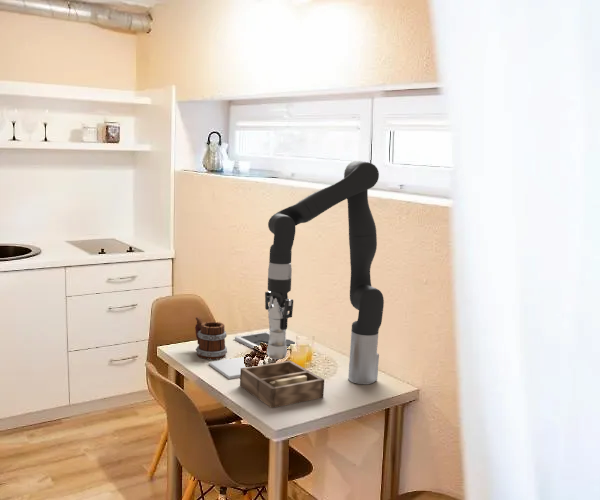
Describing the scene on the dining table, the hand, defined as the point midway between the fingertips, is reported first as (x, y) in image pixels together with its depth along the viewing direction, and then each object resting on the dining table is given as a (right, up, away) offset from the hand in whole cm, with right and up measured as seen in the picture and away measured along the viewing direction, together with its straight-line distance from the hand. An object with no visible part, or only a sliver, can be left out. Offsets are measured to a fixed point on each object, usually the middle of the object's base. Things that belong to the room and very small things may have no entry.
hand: (277, 326), depth 210 cm
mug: (-27, -15, +34) cm, 46 cm away
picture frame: (-7, -14, +50) cm, 52 cm away
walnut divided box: (+1, -21, 0) cm, 21 cm away
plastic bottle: (-1, -11, +2) cm, 11 cm away
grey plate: (-14, -17, +20) cm, 30 cm away
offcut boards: (+4, -22, -5) cm, 23 cm away
